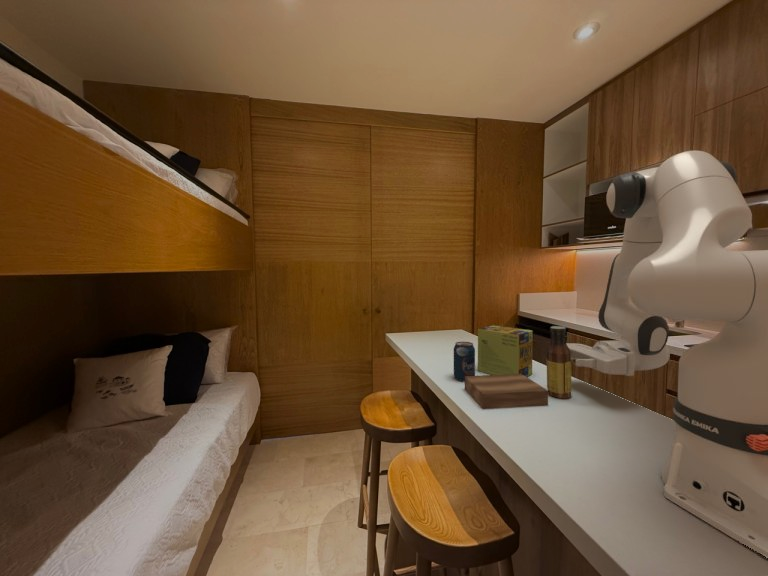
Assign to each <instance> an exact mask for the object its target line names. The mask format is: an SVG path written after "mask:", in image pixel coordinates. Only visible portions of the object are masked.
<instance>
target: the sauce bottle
mask: <svg viewBox="0 0 768 576" xmlns="http://www.w3.org/2000/svg"><path fill="white" fill-rule="evenodd" d="M549 332H550V343H549V345H548V347H547V350H546V357H545V359H546V388H547V389H546V390H548V395H550V396H551V397H554V398H557V399H568V398H571V397H572V391H573V390H572V389H573V388H572V385H573V383H572V382H573V381H572V360H571V359H570V356H571V354H570V350H569V348H568V346H567V344H566V343H567V340H566V332H567V327H566V326H561V325H559V326H558V325H552V326H550V328H549Z"/></svg>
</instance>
